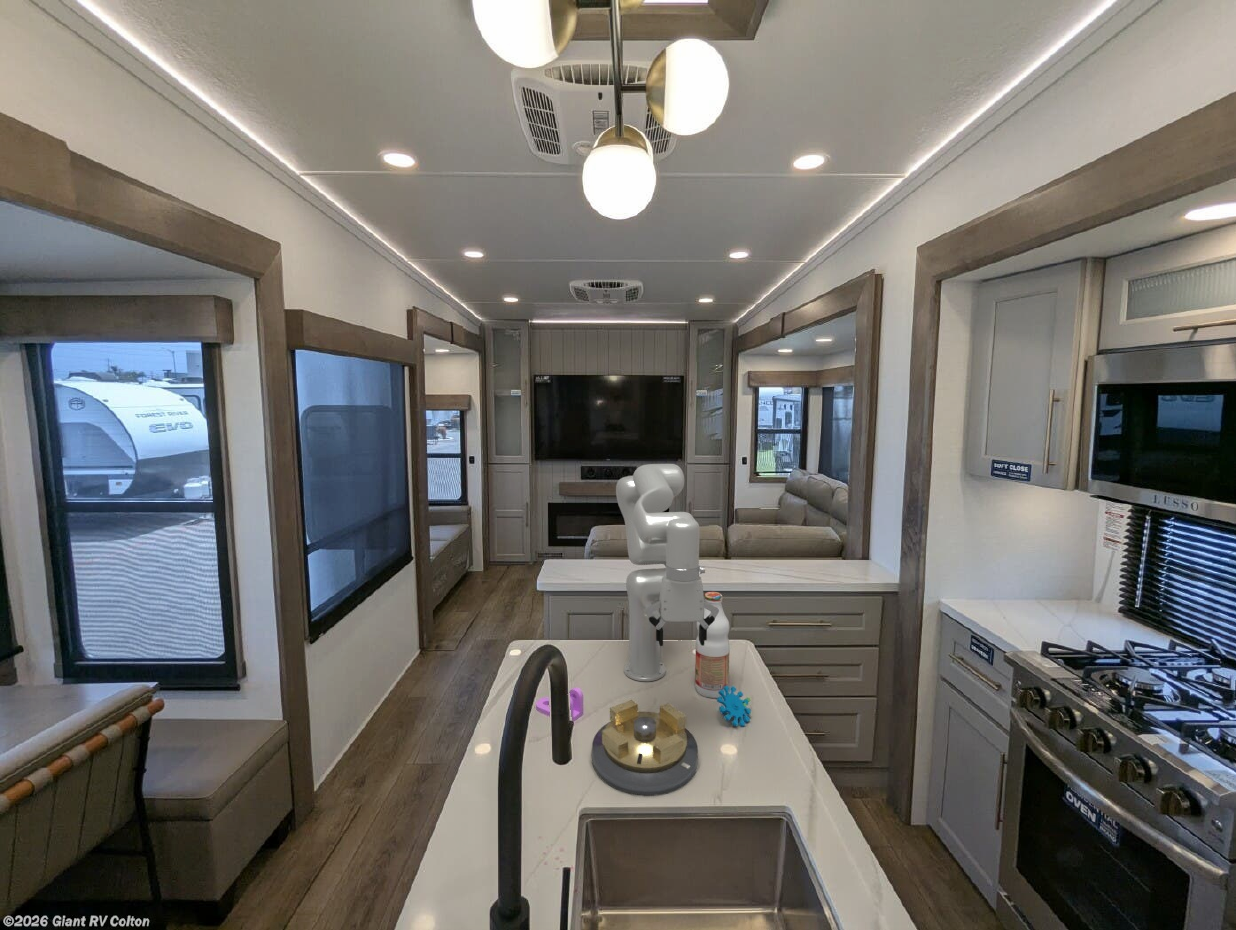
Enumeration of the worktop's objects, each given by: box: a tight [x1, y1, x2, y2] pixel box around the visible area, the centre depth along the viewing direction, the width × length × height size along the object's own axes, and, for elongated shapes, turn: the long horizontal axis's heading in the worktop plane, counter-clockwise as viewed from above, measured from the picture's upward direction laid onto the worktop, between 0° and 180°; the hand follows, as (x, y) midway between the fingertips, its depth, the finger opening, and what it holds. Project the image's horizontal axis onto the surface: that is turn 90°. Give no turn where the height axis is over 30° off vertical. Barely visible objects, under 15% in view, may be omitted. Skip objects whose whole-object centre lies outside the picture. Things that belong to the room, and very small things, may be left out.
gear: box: [716, 685, 752, 727], centre depth 135 cm, size 11×6×10 cm
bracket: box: [535, 686, 584, 723], centre depth 137 cm, size 13×6×7 cm, turn 57°
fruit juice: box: [694, 591, 731, 699], centre depth 146 cm, size 9×9×28 cm
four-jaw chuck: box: [602, 699, 687, 773], centre depth 119 cm, size 19×19×5 cm
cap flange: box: [591, 721, 699, 797], centre depth 119 cm, size 24×24×3 cm
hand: (681, 643), depth 122 cm, fingers open, 9 cm apart
